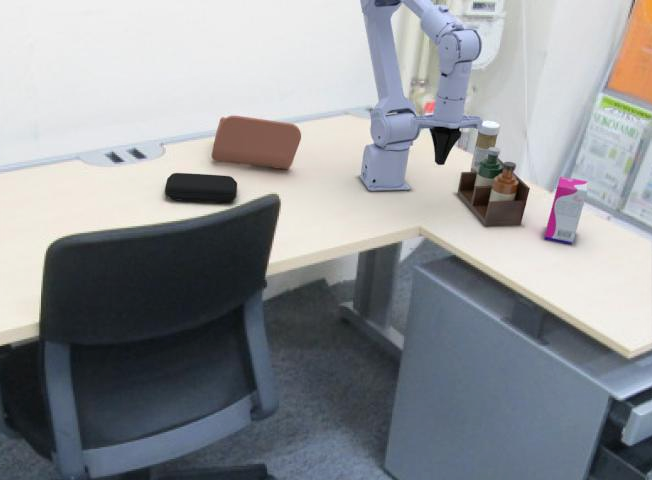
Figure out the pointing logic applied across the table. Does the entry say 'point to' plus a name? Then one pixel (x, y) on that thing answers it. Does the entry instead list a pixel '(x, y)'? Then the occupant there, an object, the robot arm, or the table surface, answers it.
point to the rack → (497, 210)
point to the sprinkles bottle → (484, 142)
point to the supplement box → (566, 210)
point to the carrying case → (201, 187)
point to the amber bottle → (504, 184)
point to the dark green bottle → (488, 168)
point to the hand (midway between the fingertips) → (439, 163)
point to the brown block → (256, 142)
